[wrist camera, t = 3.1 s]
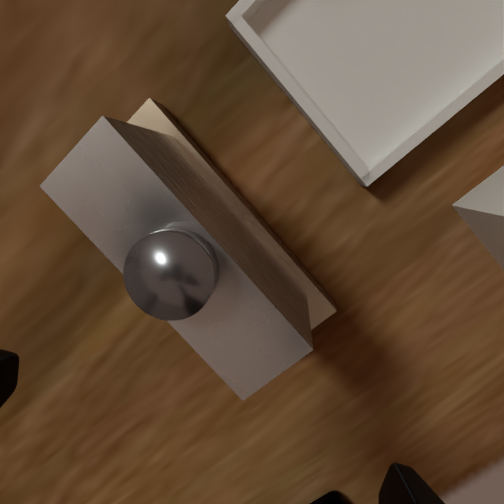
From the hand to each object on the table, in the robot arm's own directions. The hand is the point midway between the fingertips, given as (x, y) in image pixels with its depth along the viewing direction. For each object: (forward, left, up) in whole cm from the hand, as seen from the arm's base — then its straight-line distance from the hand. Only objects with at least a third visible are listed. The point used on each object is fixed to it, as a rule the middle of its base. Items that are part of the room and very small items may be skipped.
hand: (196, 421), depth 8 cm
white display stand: (+3, -1, -12) cm, 12 cm away
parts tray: (+5, -13, -12) cm, 18 cm away
